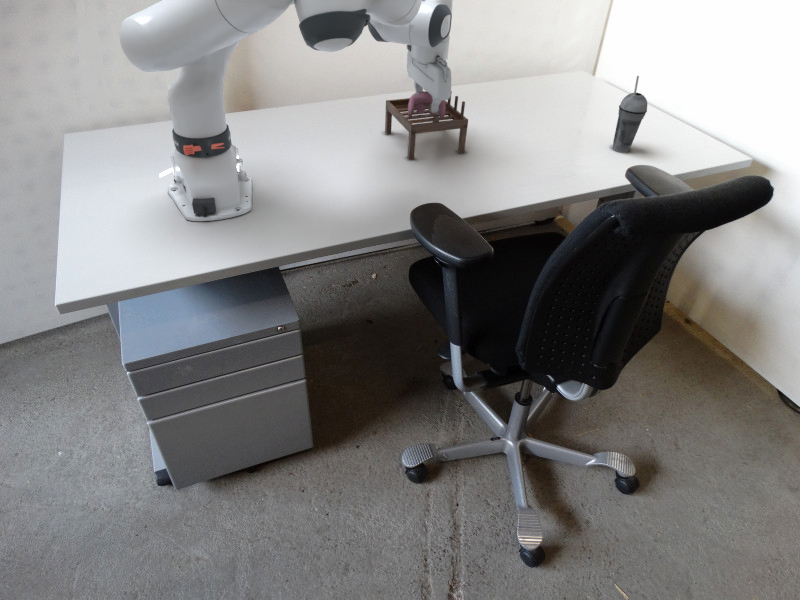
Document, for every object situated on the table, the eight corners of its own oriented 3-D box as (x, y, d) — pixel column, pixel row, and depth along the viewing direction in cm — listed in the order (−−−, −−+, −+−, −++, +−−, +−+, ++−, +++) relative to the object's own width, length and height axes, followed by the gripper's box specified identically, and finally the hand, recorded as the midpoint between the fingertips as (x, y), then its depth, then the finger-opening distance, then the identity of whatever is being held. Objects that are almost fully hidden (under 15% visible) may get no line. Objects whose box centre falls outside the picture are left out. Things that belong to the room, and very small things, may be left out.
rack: (464, 152, 157) (470, 105, 149) (409, 160, 152) (412, 112, 144) (436, 126, 169) (440, 82, 161) (384, 132, 164) (386, 87, 156)
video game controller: (444, 121, 157) (446, 93, 155) (444, 119, 152) (447, 91, 151) (407, 118, 157) (409, 90, 156) (406, 116, 153) (409, 88, 151)
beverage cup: (635, 156, 160) (659, 82, 148) (608, 152, 161) (629, 79, 149) (632, 145, 166) (655, 73, 153) (606, 142, 167) (626, 70, 154)
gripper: (460, 62, 139) (454, 118, 148) (425, 38, 153) (422, 90, 162) (436, 64, 137) (431, 121, 146) (403, 39, 151) (401, 92, 160)
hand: (426, 105), depth 154 cm, fingers open, 8 cm apart
